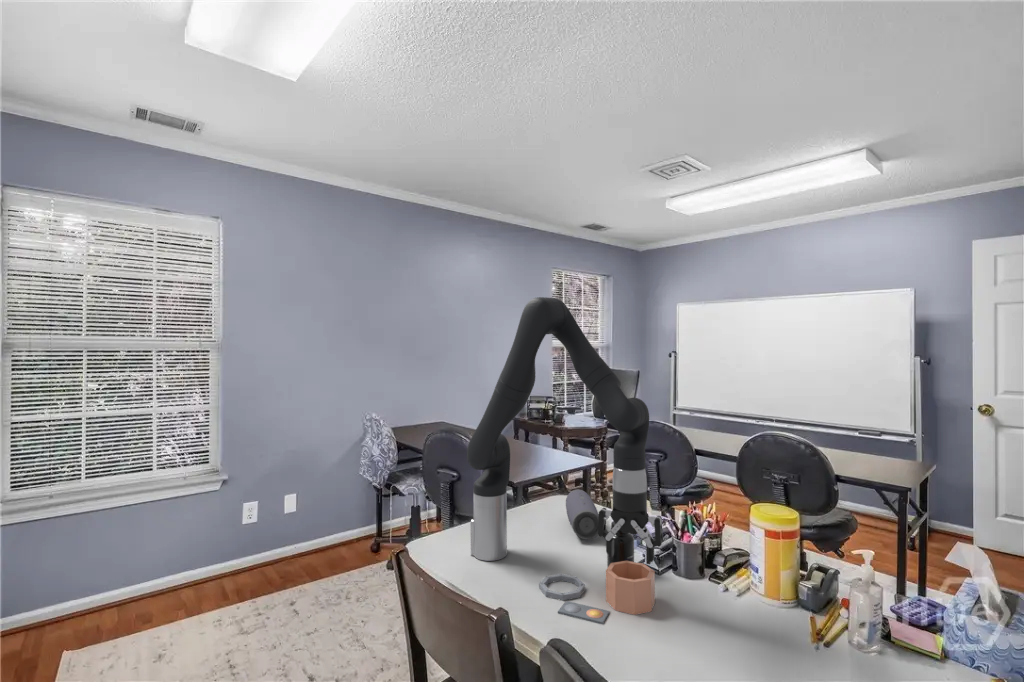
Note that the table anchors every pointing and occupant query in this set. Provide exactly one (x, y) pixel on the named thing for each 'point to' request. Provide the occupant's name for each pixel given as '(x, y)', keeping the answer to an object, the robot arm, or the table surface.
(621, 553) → the supplement bottle
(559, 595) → the gray octagonal ring
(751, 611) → the table surface
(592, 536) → the bluetooth speaker
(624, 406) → the robot arm
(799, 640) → the table surface
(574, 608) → the card
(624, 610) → the octagonal planter pot
